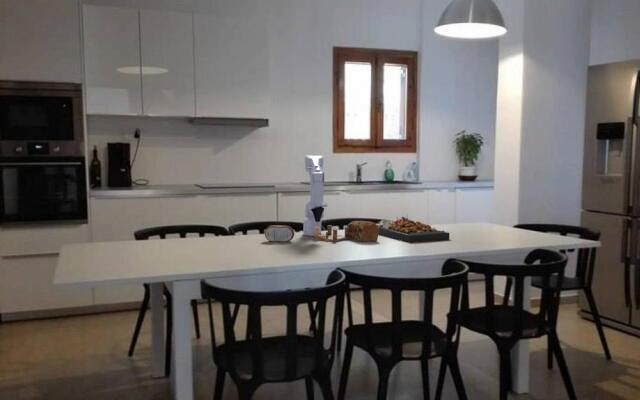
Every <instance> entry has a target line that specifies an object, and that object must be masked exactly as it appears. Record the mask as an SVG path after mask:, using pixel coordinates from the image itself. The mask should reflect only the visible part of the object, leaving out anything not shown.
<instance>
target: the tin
mask: <svg viewBox="0 0 640 400" xmlns="http://www.w3.org/2000/svg"><path fill="white" fill-rule="evenodd" d="M264 237H265V239H266V240H267V241H269V242H273V243H289V242H290V241H292V240H293V239H294V237H295V230H294V228H292V227H291V226H289V225H279V224H278V225H277V224H276V225H275V224H274V225H273V224H272V225H268V226H267V227H266V229H265V230H264Z"/></svg>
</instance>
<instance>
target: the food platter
mask: <svg viewBox="0 0 640 400" xmlns="http://www.w3.org/2000/svg"><path fill="white" fill-rule="evenodd" d="M396 219H397V220H395V221H393V220H390V219H387V218H385V219H381V221H379V222H374V223H375V224H376V225H377V226H378V230H379V232H378V236H379V235H380V236H383V237H387V238H389V239H390V238H391V239H395V240H397V241H400V242H404V243H405V242H406V243H408V244H412V243H414V242H415V243H426V242H439V241H440V242H441V241H450V232H448V231H445V230H438V229H436V228H435V227H432V226H431V225H429V224H427V223H426V224H424V223H422V222H421V221H414V220H411V219H409V216H408V214H406V217H405V216H401V217H400V218H399V217H398V216H396Z"/></svg>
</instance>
